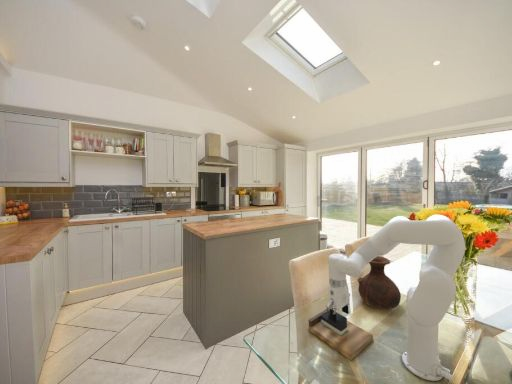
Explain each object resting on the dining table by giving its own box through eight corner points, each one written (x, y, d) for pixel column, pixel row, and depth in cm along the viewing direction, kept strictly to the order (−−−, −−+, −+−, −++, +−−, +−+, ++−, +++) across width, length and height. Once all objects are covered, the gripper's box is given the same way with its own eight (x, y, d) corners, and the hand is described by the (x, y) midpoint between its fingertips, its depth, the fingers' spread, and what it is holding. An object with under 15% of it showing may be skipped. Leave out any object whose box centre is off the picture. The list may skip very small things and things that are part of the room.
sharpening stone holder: (372, 340, 97) (372, 328, 97) (351, 360, 87) (350, 347, 87) (331, 315, 115) (331, 306, 115) (308, 330, 105) (308, 319, 105)
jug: (375, 290, 139) (375, 245, 137) (409, 309, 119) (410, 256, 117) (349, 298, 131) (349, 250, 129) (381, 319, 111) (381, 263, 109)
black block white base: (347, 330, 100) (347, 317, 100) (341, 335, 98) (340, 322, 97) (327, 318, 109) (327, 307, 109) (321, 322, 106) (320, 310, 106)
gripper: (333, 290, 92) (335, 328, 93) (355, 278, 102) (356, 313, 103) (319, 284, 98) (321, 320, 99) (341, 273, 108) (342, 306, 109)
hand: (339, 316), depth 101 cm, fingers open, 9 cm apart
